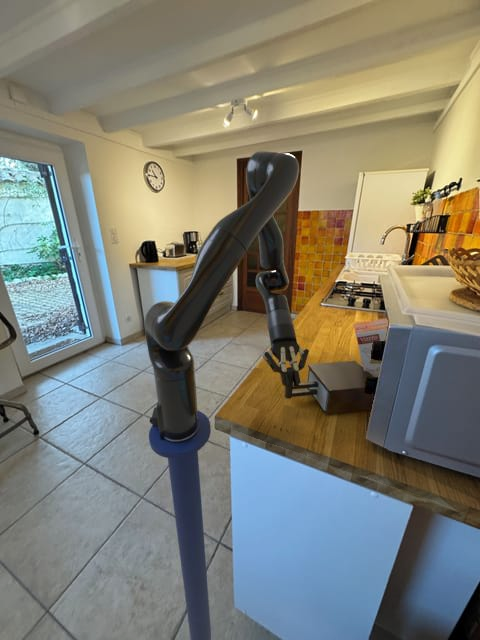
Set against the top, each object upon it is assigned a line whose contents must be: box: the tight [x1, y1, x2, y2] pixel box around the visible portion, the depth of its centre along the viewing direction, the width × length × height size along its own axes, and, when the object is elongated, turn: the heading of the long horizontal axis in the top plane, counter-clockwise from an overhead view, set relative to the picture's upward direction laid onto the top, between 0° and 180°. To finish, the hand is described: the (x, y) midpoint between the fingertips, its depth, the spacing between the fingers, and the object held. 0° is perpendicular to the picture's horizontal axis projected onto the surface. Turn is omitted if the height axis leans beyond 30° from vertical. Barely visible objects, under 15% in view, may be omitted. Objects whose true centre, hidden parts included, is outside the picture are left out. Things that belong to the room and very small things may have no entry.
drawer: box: [284, 366, 329, 412], centre depth 72 cm, size 23×11×10 cm, turn 99°
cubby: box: [307, 360, 374, 415], centre depth 73 cm, size 16×14×8 cm
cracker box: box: [353, 317, 388, 377], centre depth 72 cm, size 14×6×21 cm, turn 71°
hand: (292, 386), depth 68 cm, fingers closed on drawer, 2 cm apart
